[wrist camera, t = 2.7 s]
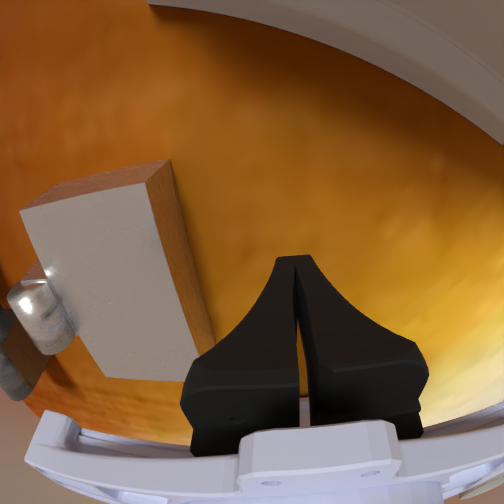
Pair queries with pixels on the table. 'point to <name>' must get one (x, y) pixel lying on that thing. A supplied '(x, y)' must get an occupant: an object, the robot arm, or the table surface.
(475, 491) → the teacup
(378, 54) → the grey rounded slab
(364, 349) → the robot arm
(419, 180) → the table surface
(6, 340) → the fixed leaf
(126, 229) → the grey boxy piece
